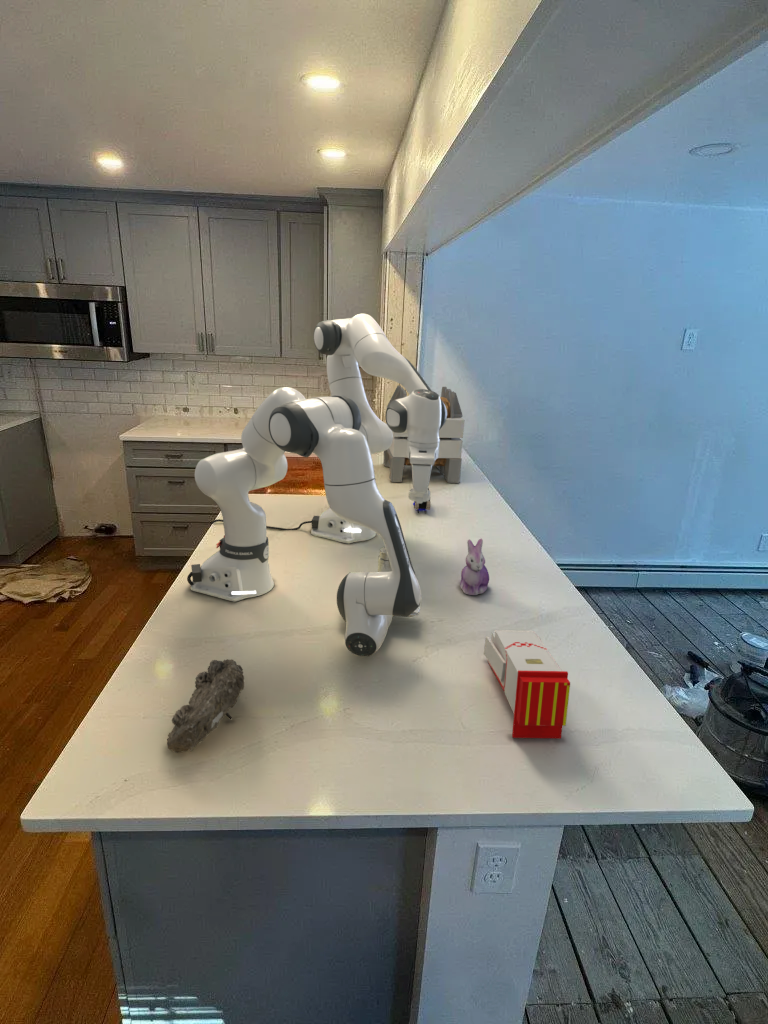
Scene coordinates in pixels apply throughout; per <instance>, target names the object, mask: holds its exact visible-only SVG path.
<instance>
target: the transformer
mask: <svg viewBox="0 0 768 1024" xmlns="http://www.w3.org/2000/svg"><path fill="white" fill-rule="evenodd" d="M440 393H441V394H440V399H441V400H442V401H443V403H444V404H445V406H446V409H447V418H446V421H445V423H444V425H443V426H442V428H441V429H440V430H439V439H440V442H439V456H438V459H436V460H435V463H434V465H432V467H436V468H437V470H438V469H439V473H440V474H441V475H443V478H444V479H445V481H446V482H447V483H449V484H455V483H456V484H459V483H461V472H462V461H463V460H462V453H463V442H464V441H463V440H462V439H463V438H464V431H465V430H464V429H465V419H464V418H463V411H462V408H461V405H460V402H459V398H458V395H457V392H455V391H453V390H452V389H451V388H447V386H442V387H441V392H440ZM407 394H408V392H407V391H406V389H405V388H404V387H403V386H402V385H401V384H398V385H397V386H396V388H395V390H394V392H393V394H392V395H391V398H390V400H389V402H388V404H387V405H386V408H387V407H388V405H389V404H390V402H391V401H393V400H397V399H401V398H404V397H407V396H408V395H407ZM391 431H392V430H391ZM392 434H393V441H392V444H391V446H390V448H389V449H387V450H385V451H383V466H384V467H388V468H389V475H388V476H389V477H388V478H389V480H390V482H391V483H402V482H403V475H404V469H405V466H406V467H407V466H411V467H412V465H411V463H410V460H409V458H408V457H407V456H406V452H407V438H408V434H407V433H395V432H393V431H392Z"/></svg>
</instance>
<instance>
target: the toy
mask: <svg viewBox="0 0 768 1024" xmlns="http://www.w3.org/2000/svg"><path fill="white" fill-rule="evenodd" d="M541 639H542V638H541V637H540V635H538V634H537V633H536V631H535V630H510V629H509V630H506V629H505V630H504V629H501V630H499V629H495V630H494V631H491V637H490V636H489V635H487V636H485V639H484V640H485V641H484V649H483V650H484V651H483V656H484V658H486V660H487V663H488V664H489V666H490V668H491V670H492V672H493V674H494V676H495V678H496V680H497V682H498V683H499V685H500V687H501V689H502V691H503V692H504V693H503V694H504V695H505V698H506V699H507V702H508V704H509V706H510V708H511V710H512V712H513V722H512V734H511V737H512V739H562V734H563V733H562V732H563V727H566V726H567V716H568V708H569V699H570V690H571V681H570V680H569V678H568V677H569V672H568V671H565V670H562V669H561V667H560V666H559V664H558V663H557V661H556V660H555V658H554V657H553V656H552V654H551V653H550V652H549V650H548V648H547V647H546V646H545V644H544V643H543V641H542V640H541Z"/></svg>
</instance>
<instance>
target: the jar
mask: <svg viewBox="0 0 768 1024" xmlns="http://www.w3.org/2000/svg"><path fill="white" fill-rule="evenodd" d="M391 571H392V568H391V564H390V561H389V558H388V554H387V551H386V547H385V546H383V547H380V549H379V555H378V559H377V572H391Z"/></svg>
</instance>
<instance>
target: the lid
mask: <svg viewBox="0 0 768 1024" xmlns="http://www.w3.org/2000/svg"><path fill="white" fill-rule="evenodd" d="M408 499H409V500H410V501H412V502H414V501H416V492H414V490H413V487H412V488H410V489H409V491H408ZM429 500H430V501H431V491H430V489H429V490H427V492H426V493H424V495H423V502H426V501H429Z"/></svg>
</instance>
